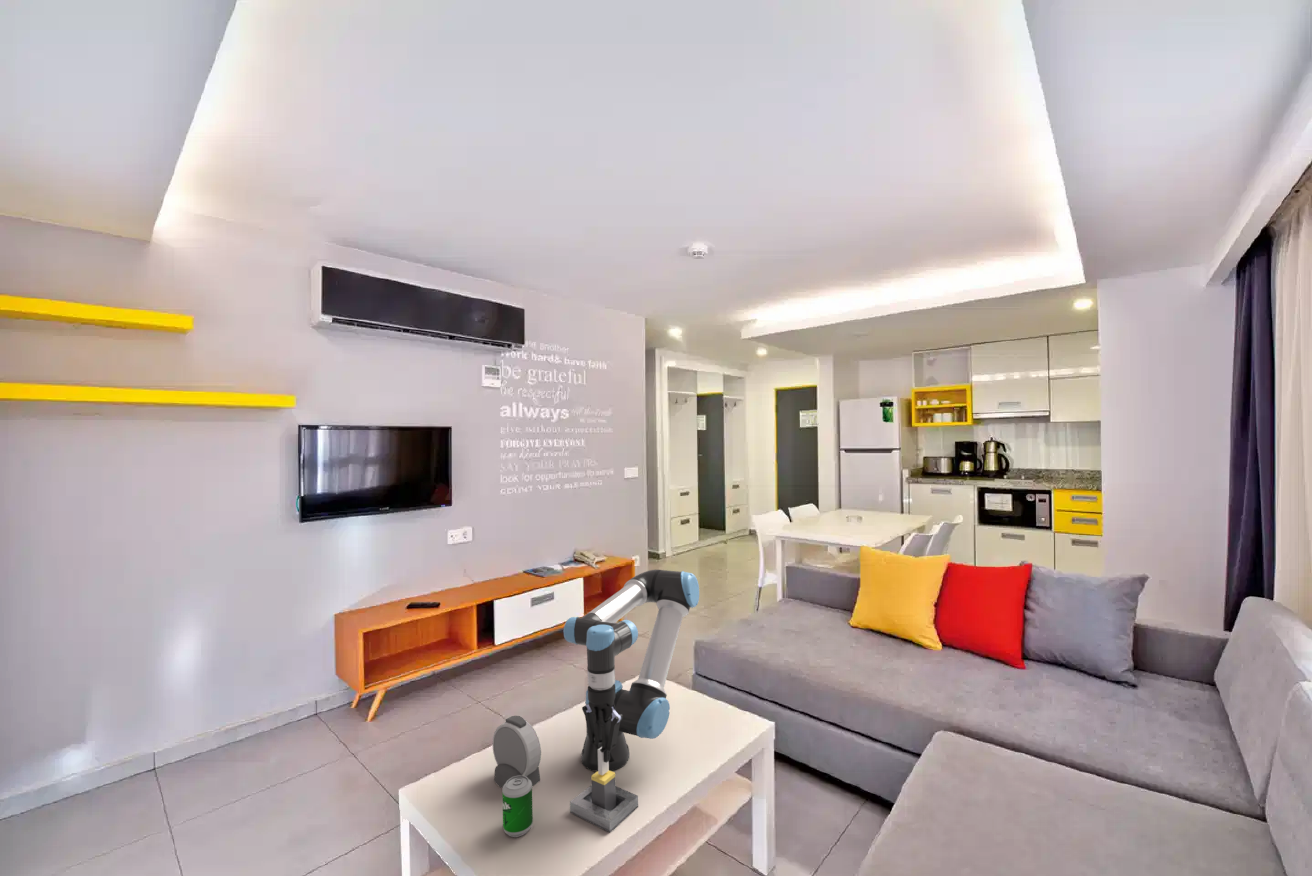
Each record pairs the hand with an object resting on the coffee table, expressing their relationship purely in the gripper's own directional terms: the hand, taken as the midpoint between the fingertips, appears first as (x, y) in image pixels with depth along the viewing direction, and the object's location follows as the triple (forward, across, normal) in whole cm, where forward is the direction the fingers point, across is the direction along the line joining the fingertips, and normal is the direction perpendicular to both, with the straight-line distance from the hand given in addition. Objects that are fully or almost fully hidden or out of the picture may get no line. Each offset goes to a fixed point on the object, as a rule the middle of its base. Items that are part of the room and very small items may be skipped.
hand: (603, 772), depth 147 cm
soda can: (+10, -14, -18) cm, 25 cm away
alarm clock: (+10, -31, -4) cm, 33 cm away
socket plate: (+10, 0, 0) cm, 10 cm away
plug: (+10, 0, 0) cm, 10 cm away
